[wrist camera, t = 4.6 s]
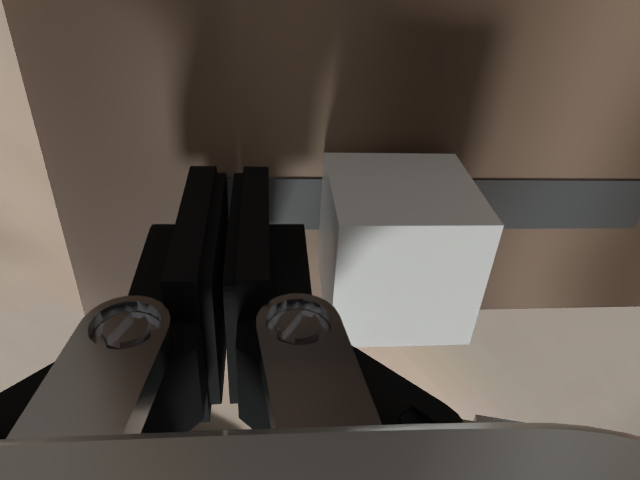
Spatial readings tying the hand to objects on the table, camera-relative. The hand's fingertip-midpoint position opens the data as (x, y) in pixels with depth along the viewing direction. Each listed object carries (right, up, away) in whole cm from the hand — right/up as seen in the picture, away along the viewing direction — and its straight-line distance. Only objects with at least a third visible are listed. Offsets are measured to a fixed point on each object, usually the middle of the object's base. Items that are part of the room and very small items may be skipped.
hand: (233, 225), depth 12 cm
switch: (+3, 0, +1) cm, 4 cm away
